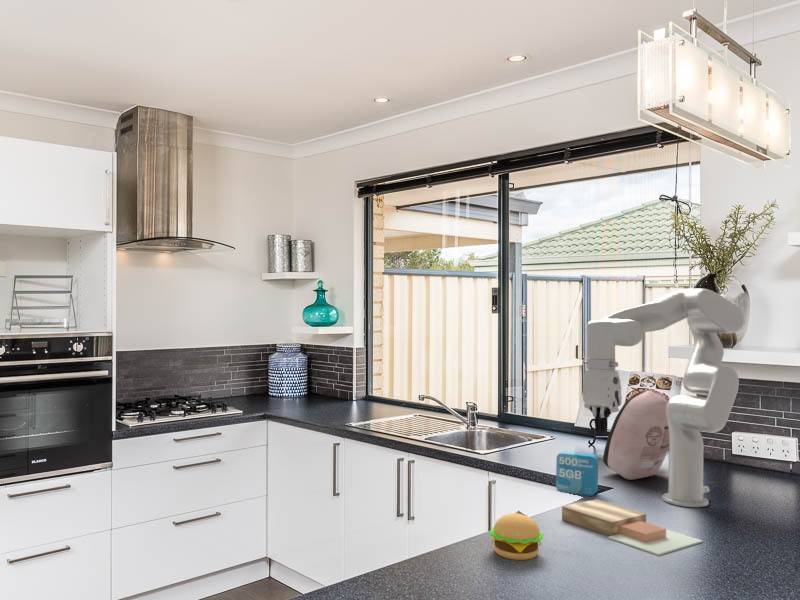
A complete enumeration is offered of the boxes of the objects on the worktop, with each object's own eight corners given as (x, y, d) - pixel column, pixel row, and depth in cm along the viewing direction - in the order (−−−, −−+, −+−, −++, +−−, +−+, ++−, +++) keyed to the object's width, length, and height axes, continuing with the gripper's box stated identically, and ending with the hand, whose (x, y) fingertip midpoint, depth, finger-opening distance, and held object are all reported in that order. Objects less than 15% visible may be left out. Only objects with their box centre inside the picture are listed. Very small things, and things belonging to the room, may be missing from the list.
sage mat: (652, 526, 179) (652, 525, 179) (702, 542, 167) (702, 540, 167) (608, 538, 168) (608, 536, 168) (658, 555, 157) (658, 553, 157)
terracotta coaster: (638, 528, 176) (638, 520, 176) (666, 537, 169) (666, 529, 169) (618, 533, 171) (618, 525, 171) (645, 542, 165) (645, 534, 165)
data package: (555, 491, 212) (556, 452, 213) (558, 488, 216) (559, 450, 217) (595, 496, 207) (596, 457, 208) (597, 493, 211) (598, 454, 212)
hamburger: (511, 540, 165) (512, 504, 165) (553, 554, 156) (554, 516, 156) (478, 551, 157) (479, 513, 157) (521, 567, 148) (522, 526, 148)
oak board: (596, 511, 191) (596, 499, 191) (646, 527, 178) (646, 513, 178) (561, 519, 183) (562, 506, 183) (611, 536, 170) (611, 522, 170)
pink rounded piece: (634, 468, 247) (636, 385, 248) (683, 480, 231) (685, 391, 232) (594, 475, 235) (596, 387, 236) (643, 488, 219) (644, 394, 219)
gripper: (632, 366, 186) (632, 434, 185) (587, 362, 198) (588, 426, 198) (615, 367, 181) (615, 437, 181) (570, 363, 193) (570, 429, 193)
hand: (601, 431), depth 189 cm, fingers closed
